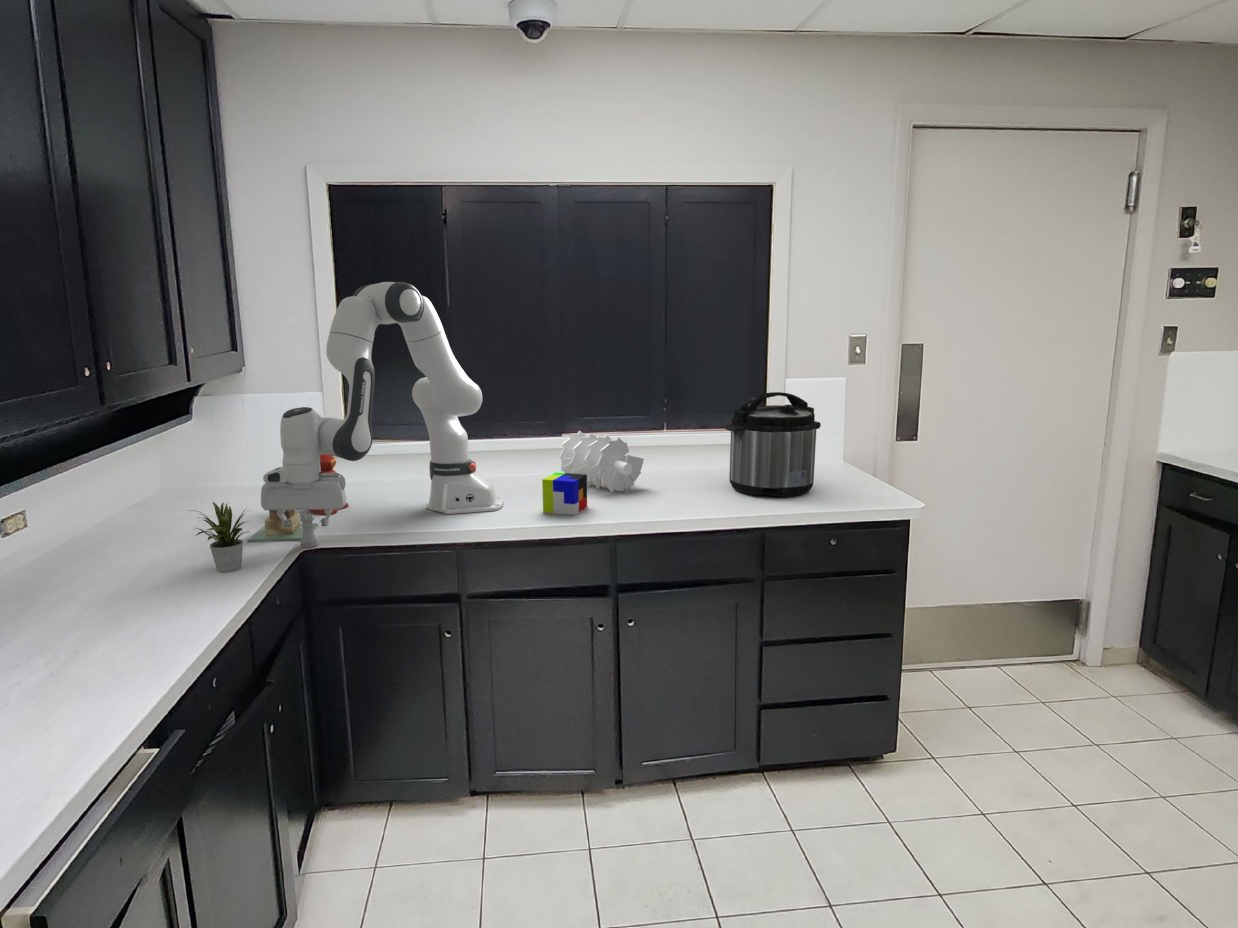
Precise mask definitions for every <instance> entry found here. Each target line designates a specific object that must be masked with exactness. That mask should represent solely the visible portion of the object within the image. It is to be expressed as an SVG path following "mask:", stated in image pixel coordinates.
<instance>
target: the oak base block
mask: <svg viewBox="0 0 1238 928" xmlns="http://www.w3.org/2000/svg"><path fill="white" fill-rule="evenodd" d="M300 519H301V513H300V512H295V514H294V515H293V516H292V517H291V518H290V523H291V526H290V527H283V523H282V520H281V519H270V516H268V517H267V518H266V519H265V520H264V525H265V532H266V535H293V534H294V533H295V532H296V531H297V530H298V529H299V528H300V527H301V524H302V523H301V520H300Z"/></svg>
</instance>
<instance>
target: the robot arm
mask: <svg viewBox="0 0 1238 928" xmlns="http://www.w3.org/2000/svg"><path fill="white" fill-rule="evenodd" d="M391 324H392V325H393V324H398V325H399V326H400V328H401V331H402V333H403V338H404V340H405V342H406V345H407V348H408V351H409V353H410V357H411V358H412V361H413V363H414V365H415V366H416V367H415V368H417V369H418V370H419V371H420V372H421V373H422V374H423V375H424V376H425V377H421V378H419V379H418V380H417V381H415V383H414V384H413V387H412V390H411V395H412V401H413V402H414V403H415V405H416V406H417V407H418V409H419V410H420V412H421V414H422V417H423V419H424V422H425V423H424V424H425V426H426V429H427V432H428V439H429V449H430V451H429V452H430V461H429V477H430V480H431V481H430V483H431V484H430V494H429V499H428V500H429V501H428V505H427V508H428V510H431V511H434V512H438V513H443V514H445V515H453V514H467V513H469V514H470V513H478V512H482V513H483V512H492V511H493V512H494V511H498V510H500V509H502V508H503V506H504V499H503V498H502V497H501V496H497V492H496V489H495V486H494V484H493V483H492V482H491V480H489V479H487V478H486V477H484V476H483V475H482V474H480V473H478V472H477V463H476V461H475V460H472V459H470V458H469V440H468V439H469V437H468V433H467V431H466V429H465V428H464V427H463V426H462V424H461V422H460V420H459V418H458V417H465V416H466V417H467V416H472V415H474V414H476V413H477V412H478V411H479V410H480V408H481V406H482V404H483V393H482V390H481V388H480V386H479V385H478V384H477V383H475V382H474V381H473V380H472V379H471V378H470V377H469V376H468V375H467V373H466V372H465V371H464V369H463V368H462V367H461V365H460V363H459V362H458V360H457V359H456V357H455V355H454V353H453V351H452V348H451V346H450V342H449V340H448V337H447V335H446V333H445V329H444V327H443V324H442V322H441V319H440V317H439V315H438V313H437V310H436V309H435V307H434V305H433V303H432V302H431V301H430V299H429V298H428V297H426V296H424V295H422V294H421V292H420V291H419V290H418V289H417V288H416V287H415V286H414V285H413V284H410V283H407V282H404V281H398V282H396V281H395V282H394V281H382V282H378V283H374V284H371V283H369V284H365V285H363V286H361V287H359V288H358V289H356V291H355V292H354V293H353V294H352V296H347V297H345V298H343V299H342V300H341V301H339V305H338V307H337V308H336V310H335V313H334V316H333V319H332V322H331V324H330V329H329V333H328V337H327V342H326V349H325V350H326V357H327V360H328V361H329V363H330V364H331V366H332V367H333V368H334V369H335V370H337V372H339V373H341V374H342V375H343V376H344V377H345V378H346V380H347V382H348V387H349V391H348V397H347V398H348V399H347V400H348V401H347V408H346V409H347V411H346V416H345V418H344V419H341V418H337V417H336V418H335V417H330V416H327V415H324V414H321V413H319V412H317V411H316V410H315V409H314V408H312V407H309V406H308V407H307V406H302V407H294V408H291V409H288V410H286V411H285V412H284V413H283V414H282V416H281V420H280V424H279V427H280V428H279V430H280V434H279V436H280V447H281V449H282V452H283V453H282V454H283V455H282V462H281V464H282V465H281V466H279V467H276V468H273V469H271V470H269V471H267V472H266V473H264V474H263V476H262V480H263V482H264V484H263V485H262V487H261V490H260V491H261V492H260V506H261V508H262V509H263V510H264V511H269V510H277V515H278V516H279V518H280V519H281V520H282V523H283V527H290V526H291V523H290V519H287V518H286V516H285V515H284V512H285V510H295V511H309V510H322V509H325V514H326V513H327V515H325V518H324V517H323V518H321V519H320V526H321V527H329V523H330V522H329V520H330V517H331V515H332V514H331V513H332V509H340V510H343V509H342V508H343V507H344V506H345V505H346V502H347V495H346V490H345V488H346V478H345V476H343V474H340V473H339V472H336V471H335V473H321V467H320V455H321V454H326V455H329V456H333V457H334V458H340V459H343V460H346V461H349V462H355V461H359V460H362V459H363V458H364V457H366V455H367V454H368V453H369V452H370V449H371V447H372V445H373V427H372V417H373V405H374V394H375V382H376V379H375V378H376V372H375V371H376V370H375V367H374V364H373V362H372V351H373V344H374V339H375V333H376V332H375V331H376V330H377V328H378V326H379V325H391Z"/></svg>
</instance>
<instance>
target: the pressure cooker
mask: <svg viewBox="0 0 1238 928" xmlns="http://www.w3.org/2000/svg"><path fill="white" fill-rule="evenodd" d="M777 396H781V397H786V399H787V401H788V402H789V403H790V404H784V405H781V404H780V405H778V404H777V405H775V404H774V405H760V404H761V403H762V402H763V401H764V400H765V399H769V398H773V397H777ZM808 405H809V404H808V402H807V401H805V399H803V398H801V397H799V396H797V395H795V394H792V393H789V392H783V391H782V392H779V391H773V392H772V391H771V392H765V393H761V394H758V395H755V396H754V397H751V398H749V399H747V400H746V401H744V402H743V403H741V404H740V407H739V409H738V408H737V409H734V411H733V418H732V419H731V424H727V425H725V426H724V429H725V430H726V431H728V432H729V431H730V447H729V448H730V449H729V450H730V451H729V452H730V453H729V476H728V477H729V479H728V480H729V483H730V485H731V487H732V489H734V490H736V491H740V492H742V493H745V494H750V495H755V496H761V495H767V496H771V497H796V496H801V495H805V494H807V493H809V492H810V491H811V489H812V488H813V486H814V479H815V463H816V447H817V446H816V442H817V430H818V429H821V426H822V425H821V422H820V421H817V420H815V417H816V416H815V408H814V407H811V406H808Z"/></svg>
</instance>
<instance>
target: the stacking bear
mask: <svg viewBox="0 0 1238 928" xmlns="http://www.w3.org/2000/svg"><path fill="white" fill-rule="evenodd" d="M336 464H337V460H336V457H335V456H329V455H326V454H321V455H320V467H321V473H335V472H336V470H335V469H334V467H335V466H336ZM348 507H349V503H348V501H346V505H345V506H344V507H343V508H342V509H332V513H331V515H334V514H337V513H338V511H340V510H343V509H347V508H348ZM308 511H309V512H310V513H311V514H316V515H324V516H326V515H327V513H326V514H325V509H322V510H308Z"/></svg>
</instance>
